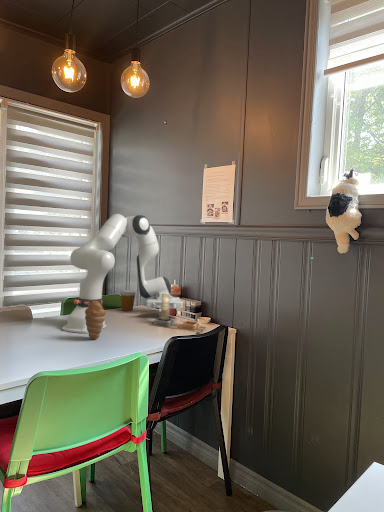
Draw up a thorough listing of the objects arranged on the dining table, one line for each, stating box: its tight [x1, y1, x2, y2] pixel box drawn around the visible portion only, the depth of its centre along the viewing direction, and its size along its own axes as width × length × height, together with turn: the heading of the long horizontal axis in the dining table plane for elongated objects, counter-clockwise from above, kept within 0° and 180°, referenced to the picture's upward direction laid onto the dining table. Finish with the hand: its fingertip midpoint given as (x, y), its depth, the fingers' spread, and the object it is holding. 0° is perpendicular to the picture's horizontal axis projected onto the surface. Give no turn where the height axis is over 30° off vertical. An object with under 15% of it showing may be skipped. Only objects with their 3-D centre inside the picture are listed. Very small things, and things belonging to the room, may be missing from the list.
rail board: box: [147, 316, 207, 335], centre depth 198 cm, size 12×28×4 cm, turn 73°
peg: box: [160, 293, 171, 321], centre depth 200 cm, size 4×4×16 cm
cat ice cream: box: [85, 300, 107, 340], centre depth 170 cm, size 9×8×18 cm
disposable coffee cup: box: [119, 289, 137, 313], centre depth 234 cm, size 10×10×12 cm
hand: (164, 306), depth 205 cm, fingers open, 8 cm apart
